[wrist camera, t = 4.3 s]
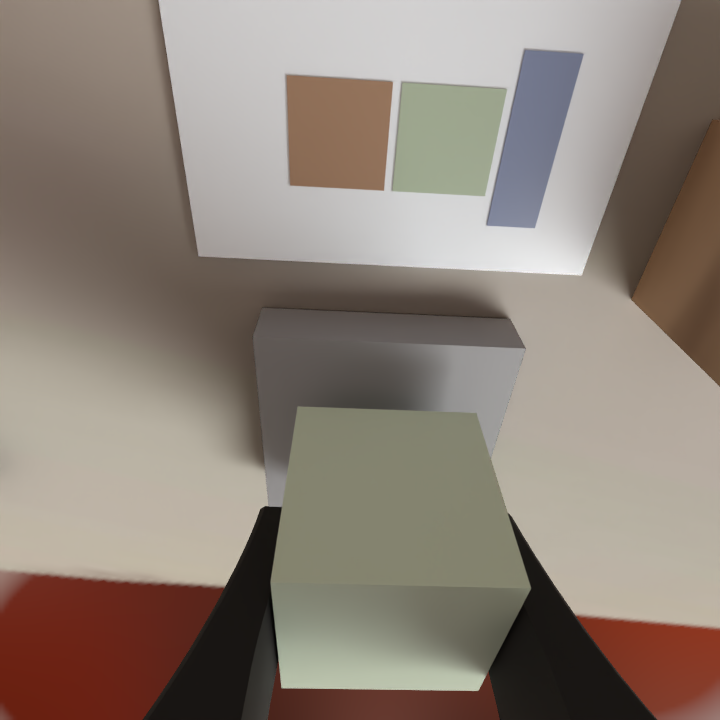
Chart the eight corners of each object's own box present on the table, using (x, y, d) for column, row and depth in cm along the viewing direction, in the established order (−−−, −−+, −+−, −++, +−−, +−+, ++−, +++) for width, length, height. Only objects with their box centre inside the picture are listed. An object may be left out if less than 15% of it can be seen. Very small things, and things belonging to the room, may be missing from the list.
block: (476, 413, 12) (531, 588, 8) (446, 521, 14) (478, 690, 11) (297, 406, 12) (269, 582, 8) (301, 517, 14) (281, 687, 10)
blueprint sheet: (683, -16, 9) (688, -17, 9) (579, 273, 12) (582, 275, 12) (152, -56, 8) (148, -57, 8) (200, 254, 12) (198, 256, 12)
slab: (510, 318, 13) (525, 348, 12) (464, 481, 17) (472, 515, 16) (262, 307, 13) (252, 336, 12) (275, 475, 17) (268, 509, 16)
